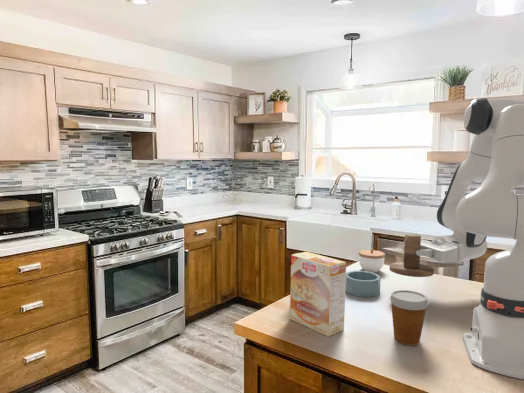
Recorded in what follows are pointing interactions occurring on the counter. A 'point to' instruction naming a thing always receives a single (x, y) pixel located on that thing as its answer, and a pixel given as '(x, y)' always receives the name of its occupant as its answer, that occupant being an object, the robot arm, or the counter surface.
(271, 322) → the counter surface
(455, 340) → the counter surface
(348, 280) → the bowl
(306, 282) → the coffeecake box
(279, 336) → the counter surface
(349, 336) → the counter surface
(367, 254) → the lidded jar
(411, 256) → the lid
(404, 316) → the disposable coffee cup
